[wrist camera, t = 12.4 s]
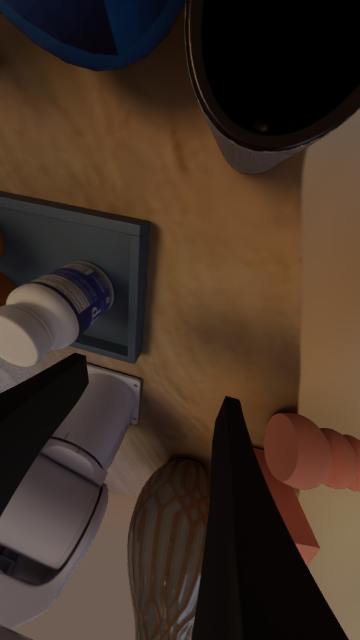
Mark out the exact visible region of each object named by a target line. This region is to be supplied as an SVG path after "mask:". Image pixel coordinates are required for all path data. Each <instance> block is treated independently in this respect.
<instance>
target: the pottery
mask: <svg viewBox="0 0 360 640" xmlns="http://www.w3.org/2000/svg"><path fill="white" fill-rule="evenodd" d="M254 451H255V454H256V457H257V459H258V462H259V465H260V467H261V470H262V472H263V475H264V478H265V480H266V482H267V485H268V487H269V490H270V492H271V494H272V497H273V499H274V501H275V503H276V505H277V508H278V510H279V512H280V514H281V516H282V518H283V520H284V522H285V524H286V527H287V529H288V531H289V533H290V535H291V537H292V538H293V540H294V542H295V544H296V546H297V548H298V550H299V552H300V554H301V556H302V558H303V559H304V561H305V563H306V565H307V566H308V564H309V563H310V562H311V560H312V559H313V557H314V556H315V555H316V553H317V552H318V551H319V549H320V547H319V545H318V543H317V541H316V538H315V536H314V534H313V532H312V529H311V527H310V525H309V523H308V521H307V519H306V516H305V514H304V512H303V510H302V508H301V505H300V503H299V501H298V499H297V497H296V495H295V492H294V490H293V488H296V489H300V490H306V489H312V488H315V487H318V486H319V485H321V484H322V483H323V484H325V485H327V486H329V487H331V488H334V489H344V488H349V489H350V490H353V491H360V440H358V439H356V438H354V437H352V436H350V435H342V434H340V433H338V432H337V431H335V430H333V429H328V428H320V429H319V428H318V427H317V425H315V424H314V423H313V422H312V421H311V420H309V419H307V418H306V417H304V416H302V415H299V414H294V413H278V414H275V415H273V416H272V417H271V419H270V420H269V422H268V424H267V427H266V430H265V435H264V450H260V449H256V448H254ZM292 487H293V488H292Z"/></svg>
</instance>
